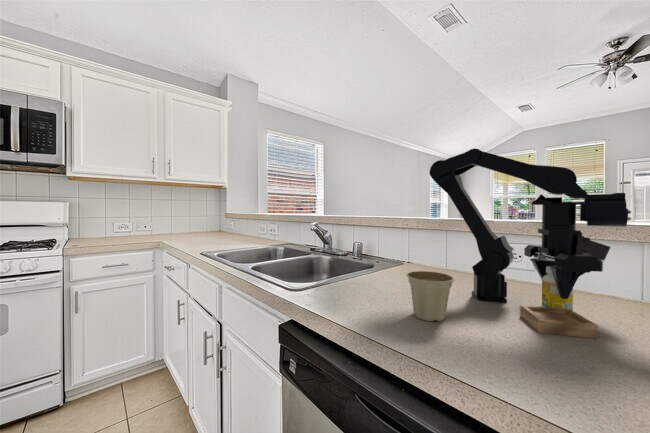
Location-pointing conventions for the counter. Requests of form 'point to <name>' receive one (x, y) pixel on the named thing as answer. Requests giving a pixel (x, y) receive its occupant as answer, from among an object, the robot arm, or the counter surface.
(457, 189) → the robot arm
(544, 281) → the supplement bottle
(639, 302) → the counter surface
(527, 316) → the wooden tray
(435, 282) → the flower pot
